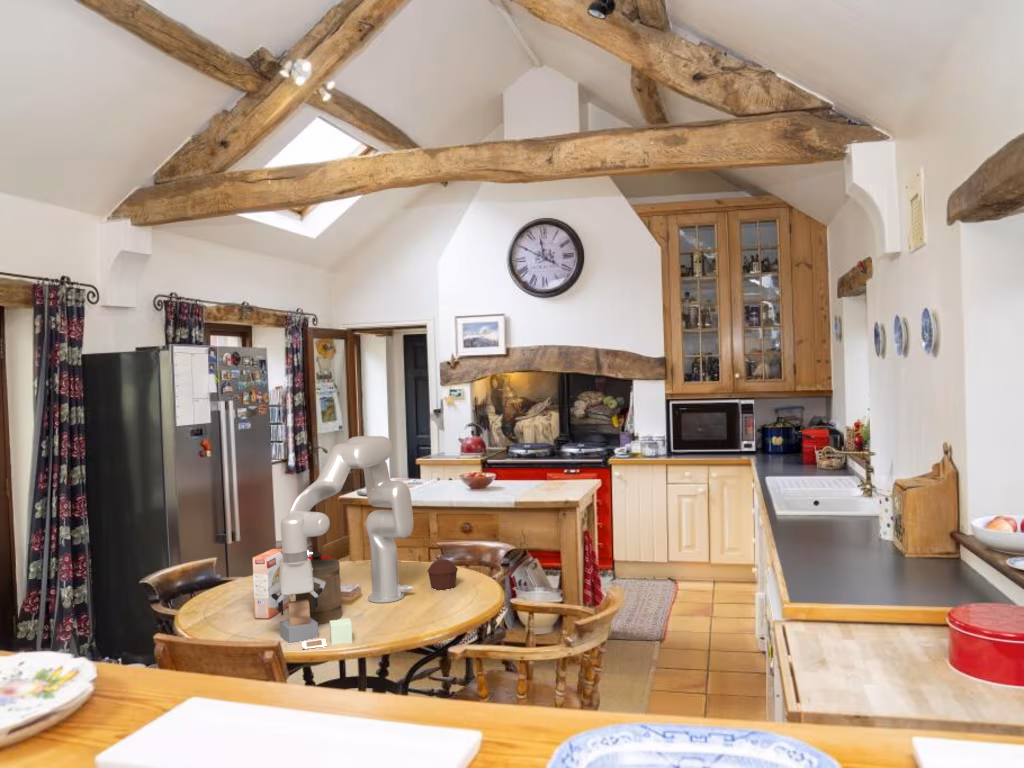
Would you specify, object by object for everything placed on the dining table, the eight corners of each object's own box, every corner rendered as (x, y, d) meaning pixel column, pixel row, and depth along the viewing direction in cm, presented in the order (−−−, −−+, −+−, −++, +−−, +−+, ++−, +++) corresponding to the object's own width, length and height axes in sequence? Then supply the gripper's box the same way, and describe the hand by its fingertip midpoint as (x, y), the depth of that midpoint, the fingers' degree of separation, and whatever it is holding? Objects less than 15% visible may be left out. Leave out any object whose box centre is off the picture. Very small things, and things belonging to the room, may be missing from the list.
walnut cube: (309, 618, 248) (308, 599, 248) (310, 623, 242) (309, 604, 242) (289, 620, 246) (288, 601, 246) (289, 626, 240) (288, 606, 240)
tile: (325, 639, 241) (325, 637, 241) (326, 646, 234) (326, 645, 234) (301, 642, 239) (301, 641, 239) (302, 650, 232) (302, 648, 232)
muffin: (461, 589, 290) (459, 562, 289) (431, 593, 287) (429, 565, 287) (455, 581, 301) (454, 555, 301) (426, 585, 298) (425, 558, 298)
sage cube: (350, 637, 242) (349, 618, 242) (352, 643, 236) (351, 623, 236) (330, 640, 240) (329, 620, 240) (332, 646, 234) (330, 626, 234)
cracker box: (270, 619, 264) (267, 557, 264) (254, 619, 265) (250, 557, 265) (290, 607, 278) (287, 547, 278) (274, 606, 279) (271, 547, 279)
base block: (308, 631, 250) (308, 615, 250) (318, 638, 243) (317, 622, 243) (280, 637, 245) (279, 621, 245) (289, 645, 238) (288, 628, 238)
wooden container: (349, 611, 269) (346, 547, 269) (329, 625, 255) (326, 557, 254) (309, 610, 272) (306, 547, 272) (288, 624, 258) (284, 557, 258)
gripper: (323, 551, 250) (326, 604, 250) (266, 557, 245) (269, 612, 245) (324, 556, 243) (327, 611, 243) (265, 562, 238) (269, 619, 238)
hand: (298, 611), depth 244 cm, fingers open, 9 cm apart
